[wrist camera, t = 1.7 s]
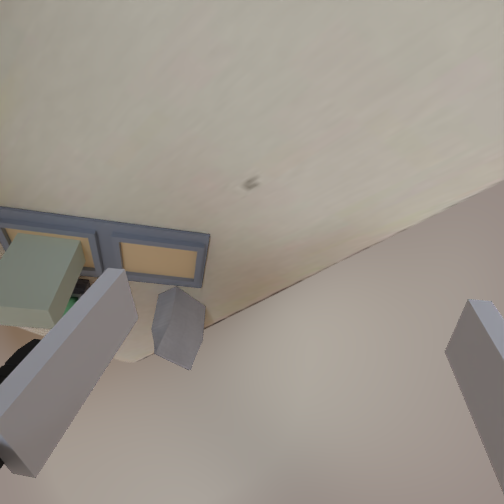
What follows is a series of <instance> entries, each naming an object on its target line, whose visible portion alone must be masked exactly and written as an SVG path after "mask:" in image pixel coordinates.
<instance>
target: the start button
mask: <svg viewBox="0 0 504 504" xmlns="http://www.w3.org/2000/svg"><path fill="white" fill-rule="evenodd" d="M78 300H79V299H78V297H70V299H69V302H68V304H67V306H66V309H65V311H64V314H63V316H64V315H65V314H66V313H67V312H68V311H69V309H70V308H71V307H72V306H73V305H74V304H75V303H76V302H77V301H78ZM63 316H62V317H63Z"/></svg>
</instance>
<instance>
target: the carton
mask: <svg viewBox="0 0 504 504" xmlns="http://www.w3.org/2000/svg"><path fill="white" fill-rule="evenodd" d="M85 261H86V260H85V257H84V253H83V249H82V245H81V241H80V240H73V239H65V238H57V237H49V236H41V235H32V234H24V233H17V235H16V236H15V238H14V239H13V241H12V243H11V244H10V246H9V247H8V249H7V250H6V252H5V253H4V255H3V256H2V258H1V259H0V325H8V326H20V327H32V328H45V329H52V328H53V327H54V326H55V325H56V324H57V322H58V321H59V320H60V319H61V318H62V316H63V314H64V311H65V309H66V306H67V304H68V302H69V299H70V297H71V295H72V292H73V290H74V288H75V285H76V283H77V280H78V278H79V276H80V273H81V271H82V269H83V266H84V264H85Z"/></svg>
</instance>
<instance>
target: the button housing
mask: <svg viewBox="0 0 504 504" xmlns="http://www.w3.org/2000/svg"><path fill="white" fill-rule="evenodd" d="M89 288H90V283H89V280H82V279H78V280H77V283H76V285H75V288H74V290H73V292H72V295H71V297H78V299H80V297H81V296H82V295H83V294H84V293H85V292H86V291H87V290H88V289H89Z"/></svg>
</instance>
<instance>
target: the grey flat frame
mask: <svg viewBox="0 0 504 504" xmlns="http://www.w3.org/2000/svg"><path fill="white" fill-rule="evenodd" d="M17 233H24V234H32V235H41V236H49V237H57V238H65V239H73V240H80V241H81V245H82V249H83V253H84V257H85V260H86V261H85V264H84V266H83V269H82V271H81V273H80V275H81V276H90V277H100V276H101V275H102V274H103V273H104V271H105V270H106V269H107V268H116V269H125V272H126V275H127V279H128V281H138V282H147V283H157V284H166V285H176V286H185V287H195V288H201V287H202V280H203V274H204V268H205V262H206V256H207V250H208V243H209V237H210V234H203V233H196V232H188V231H181V230H173V229H166V228H158V227H150V226H143V225H135V224H128V223H120V222H113V221H105V220H98V219H90V218H83V217H75V216H68V215H60V214H53V213H45V212H38V211H30V210H23V209H15V208H8V207H0V242H1V244H2V246H3V248H4V250H5V252H6V250H7V249H8V247H9V246H10V244H11V243H12V241H13V239H14V238H15V236H16V235H17Z"/></svg>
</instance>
